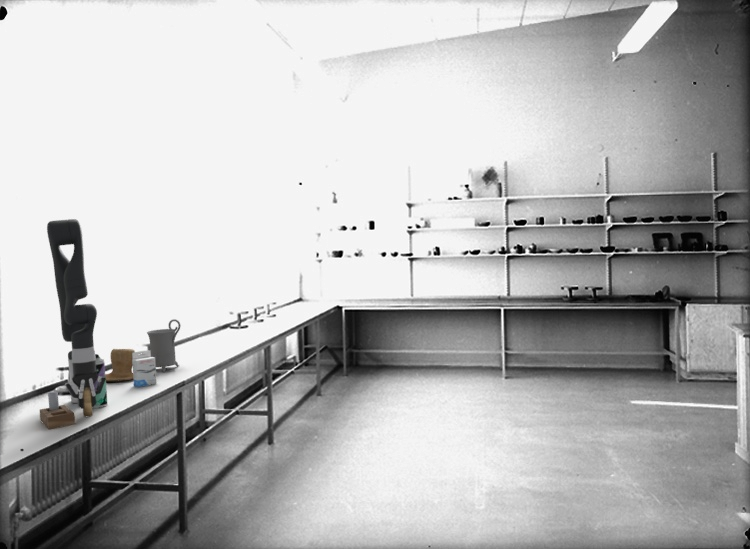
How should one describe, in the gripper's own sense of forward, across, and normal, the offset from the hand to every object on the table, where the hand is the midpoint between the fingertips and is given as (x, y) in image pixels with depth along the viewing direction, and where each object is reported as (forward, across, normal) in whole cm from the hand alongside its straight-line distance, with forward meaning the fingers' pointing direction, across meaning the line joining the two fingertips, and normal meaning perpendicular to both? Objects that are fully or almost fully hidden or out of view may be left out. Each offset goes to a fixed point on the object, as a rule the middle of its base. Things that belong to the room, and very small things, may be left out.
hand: (87, 407), depth 213 cm
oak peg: (+3, 0, 0) cm, 3 cm away
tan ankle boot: (+3, -27, -56) cm, 62 cm away
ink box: (+3, -32, -36) cm, 48 cm away
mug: (+3, -51, -64) cm, 82 cm away
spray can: (+3, -7, -12) cm, 14 cm away
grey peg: (+3, +10, -4) cm, 11 cm away
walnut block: (+3, +10, 0) cm, 10 cm away
